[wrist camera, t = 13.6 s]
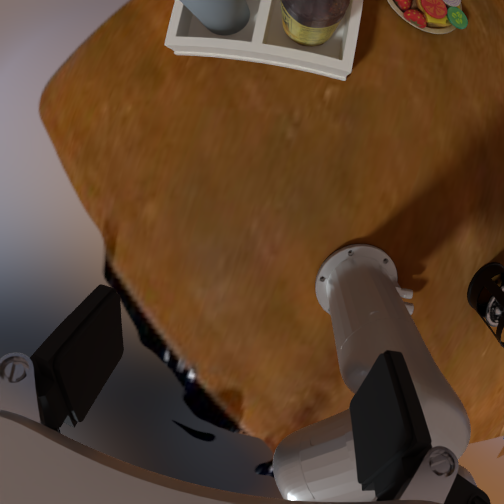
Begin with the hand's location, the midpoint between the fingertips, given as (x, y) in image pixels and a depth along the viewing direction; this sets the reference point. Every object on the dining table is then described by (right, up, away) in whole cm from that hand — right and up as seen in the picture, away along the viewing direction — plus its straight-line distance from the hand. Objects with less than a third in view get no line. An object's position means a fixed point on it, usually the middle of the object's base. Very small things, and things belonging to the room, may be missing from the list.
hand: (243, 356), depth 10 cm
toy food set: (+24, +39, +16) cm, 49 cm away
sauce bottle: (+7, +31, +20) cm, 37 cm away
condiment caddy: (+2, +33, +21) cm, 39 cm away
